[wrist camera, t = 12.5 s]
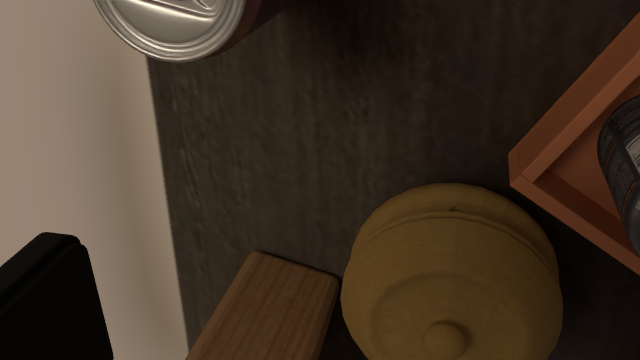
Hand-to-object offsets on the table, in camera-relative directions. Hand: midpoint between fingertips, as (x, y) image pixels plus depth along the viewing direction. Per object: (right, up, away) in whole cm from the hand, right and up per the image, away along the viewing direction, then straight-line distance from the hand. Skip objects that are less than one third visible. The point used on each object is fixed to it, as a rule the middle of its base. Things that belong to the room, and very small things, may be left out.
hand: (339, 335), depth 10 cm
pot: (+8, -1, +28) cm, 29 cm away
